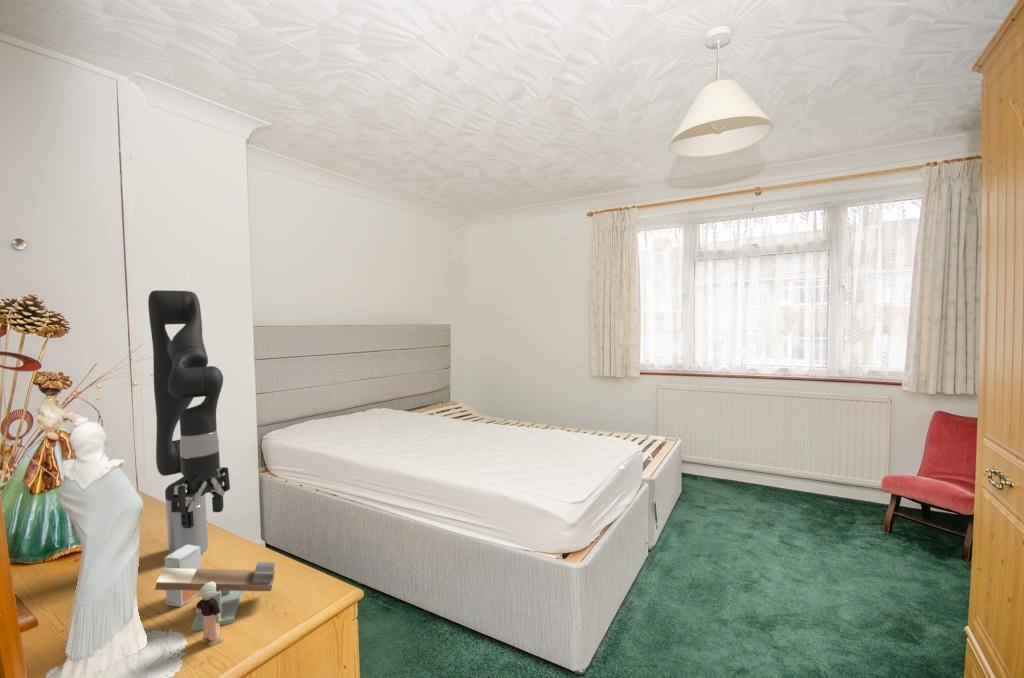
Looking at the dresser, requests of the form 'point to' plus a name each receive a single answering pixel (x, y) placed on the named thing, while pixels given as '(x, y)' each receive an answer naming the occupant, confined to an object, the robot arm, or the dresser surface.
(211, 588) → the grandmother figurine
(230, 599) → the beam stand
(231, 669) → the dresser surface
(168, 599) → the skincare box
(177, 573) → the beam
